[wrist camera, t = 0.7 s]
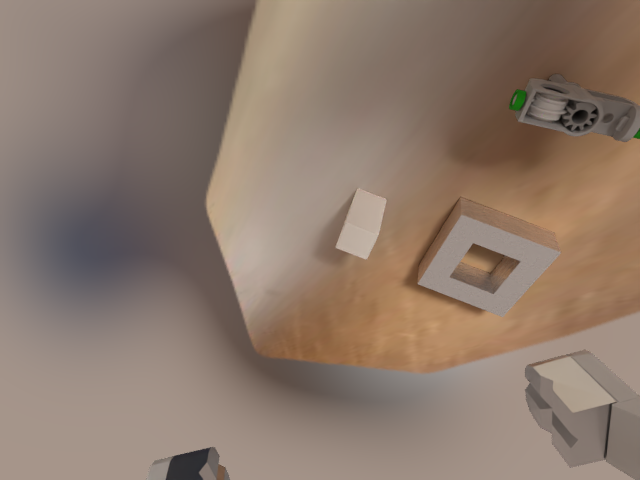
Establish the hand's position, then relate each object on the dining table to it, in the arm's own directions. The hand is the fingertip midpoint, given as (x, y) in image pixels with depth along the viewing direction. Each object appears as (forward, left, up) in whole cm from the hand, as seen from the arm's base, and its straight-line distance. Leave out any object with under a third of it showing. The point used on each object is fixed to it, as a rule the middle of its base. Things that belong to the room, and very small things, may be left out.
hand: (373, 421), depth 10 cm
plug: (+19, 0, -40) cm, 44 cm away
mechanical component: (-2, +12, -40) cm, 42 cm away
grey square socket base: (+19, +16, -40) cm, 47 cm away
